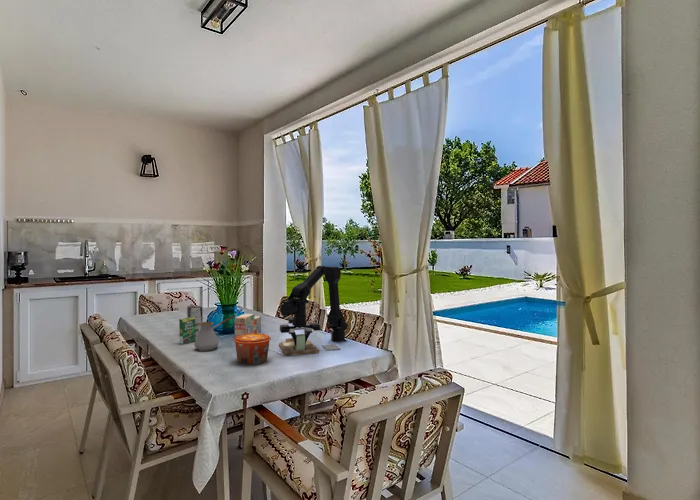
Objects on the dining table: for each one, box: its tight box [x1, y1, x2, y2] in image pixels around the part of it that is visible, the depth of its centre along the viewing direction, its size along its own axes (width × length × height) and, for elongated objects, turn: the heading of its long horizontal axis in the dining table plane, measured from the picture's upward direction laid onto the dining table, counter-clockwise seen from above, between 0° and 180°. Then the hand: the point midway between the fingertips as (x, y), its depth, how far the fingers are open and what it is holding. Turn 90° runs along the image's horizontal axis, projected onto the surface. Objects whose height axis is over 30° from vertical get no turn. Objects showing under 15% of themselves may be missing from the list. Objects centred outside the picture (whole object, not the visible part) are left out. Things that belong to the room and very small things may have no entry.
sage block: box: [295, 333, 305, 351], centre depth 205 cm, size 4×4×8 cm
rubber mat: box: [321, 343, 341, 352], centre depth 212 cm, size 7×9×1 cm
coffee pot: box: [193, 315, 237, 352], centre depth 213 cm, size 21×12×15 cm, turn 131°
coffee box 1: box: [186, 304, 203, 336], centre depth 239 cm, size 9×6×16 cm
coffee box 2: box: [178, 317, 197, 345], centre depth 222 cm, size 8×3×13 cm, turn 147°
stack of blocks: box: [234, 313, 262, 339], centre depth 238 cm, size 21×6×12 cm, turn 169°
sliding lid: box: [280, 337, 313, 348], centre depth 213 cm, size 14×9×3 cm, turn 108°
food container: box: [233, 332, 272, 366], centre depth 190 cm, size 16×16×11 cm
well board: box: [278, 340, 320, 357], centre depth 209 cm, size 16×19×2 cm
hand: (300, 345), depth 205 cm, fingers closed on sage block, 4 cm apart
